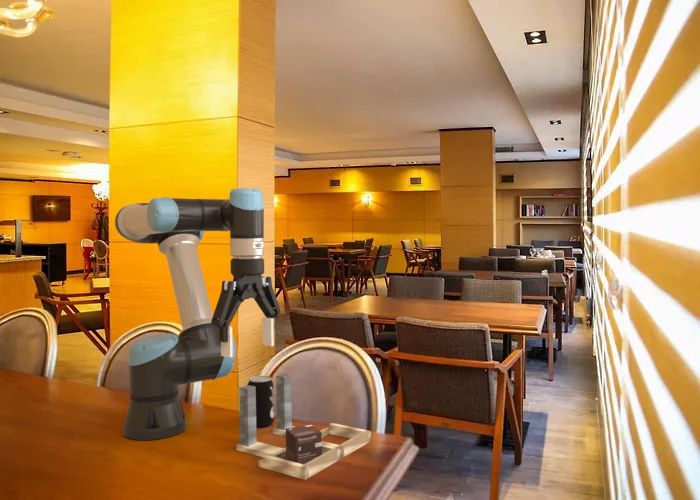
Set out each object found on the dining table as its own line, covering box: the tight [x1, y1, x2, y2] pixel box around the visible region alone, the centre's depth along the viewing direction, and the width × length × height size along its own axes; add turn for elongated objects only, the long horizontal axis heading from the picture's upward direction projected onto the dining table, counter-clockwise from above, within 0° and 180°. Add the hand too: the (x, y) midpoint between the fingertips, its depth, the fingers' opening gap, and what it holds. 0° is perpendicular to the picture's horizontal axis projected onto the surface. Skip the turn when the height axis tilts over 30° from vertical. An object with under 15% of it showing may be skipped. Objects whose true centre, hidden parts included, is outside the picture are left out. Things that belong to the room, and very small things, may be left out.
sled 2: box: [272, 373, 372, 460], centre depth 136 cm, size 23×12×14 cm, turn 56°
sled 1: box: [235, 384, 341, 481], centre depth 126 cm, size 23×12×14 cm, turn 56°
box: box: [285, 424, 323, 465], centre depth 122 cm, size 6×6×7 cm
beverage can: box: [246, 375, 275, 429], centre depth 148 cm, size 7×7×12 cm
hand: (248, 350), depth 131 cm, fingers open, 13 cm apart
